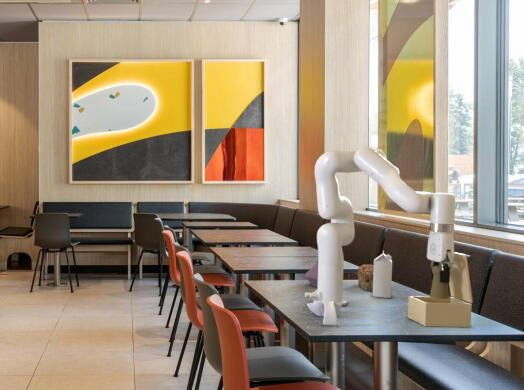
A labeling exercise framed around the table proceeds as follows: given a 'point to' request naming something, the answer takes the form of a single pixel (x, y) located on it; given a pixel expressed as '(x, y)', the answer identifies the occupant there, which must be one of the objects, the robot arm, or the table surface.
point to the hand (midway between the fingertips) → (440, 280)
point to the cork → (438, 285)
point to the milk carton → (382, 276)
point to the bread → (366, 276)
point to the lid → (460, 278)
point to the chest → (439, 311)
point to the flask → (313, 275)
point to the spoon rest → (326, 311)
